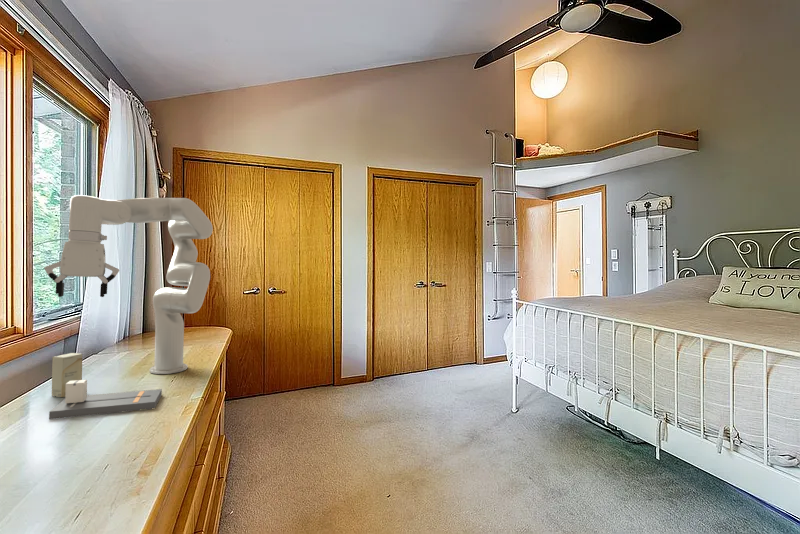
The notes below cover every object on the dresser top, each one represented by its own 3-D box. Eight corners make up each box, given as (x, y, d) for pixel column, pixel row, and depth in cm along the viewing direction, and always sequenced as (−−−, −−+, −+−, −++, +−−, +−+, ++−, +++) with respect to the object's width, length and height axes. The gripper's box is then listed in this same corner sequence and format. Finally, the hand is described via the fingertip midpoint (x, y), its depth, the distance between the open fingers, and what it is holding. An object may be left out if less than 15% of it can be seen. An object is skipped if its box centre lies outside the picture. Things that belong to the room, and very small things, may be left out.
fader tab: (69, 399, 114) (69, 380, 114) (86, 398, 115) (87, 379, 115) (65, 403, 111) (65, 384, 111) (83, 402, 112) (83, 382, 112)
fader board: (66, 403, 117) (66, 396, 117) (161, 395, 126) (161, 388, 126) (49, 419, 106) (49, 411, 106) (154, 408, 115) (154, 401, 115)
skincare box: (62, 397, 122) (63, 357, 121) (50, 396, 122) (51, 356, 122) (82, 391, 128) (83, 353, 128) (71, 390, 129) (71, 352, 128)
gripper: (121, 241, 126) (119, 296, 125) (49, 236, 117) (46, 295, 117) (119, 239, 119) (116, 297, 119) (43, 234, 110) (39, 297, 110)
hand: (81, 296), depth 118 cm, fingers open, 9 cm apart
